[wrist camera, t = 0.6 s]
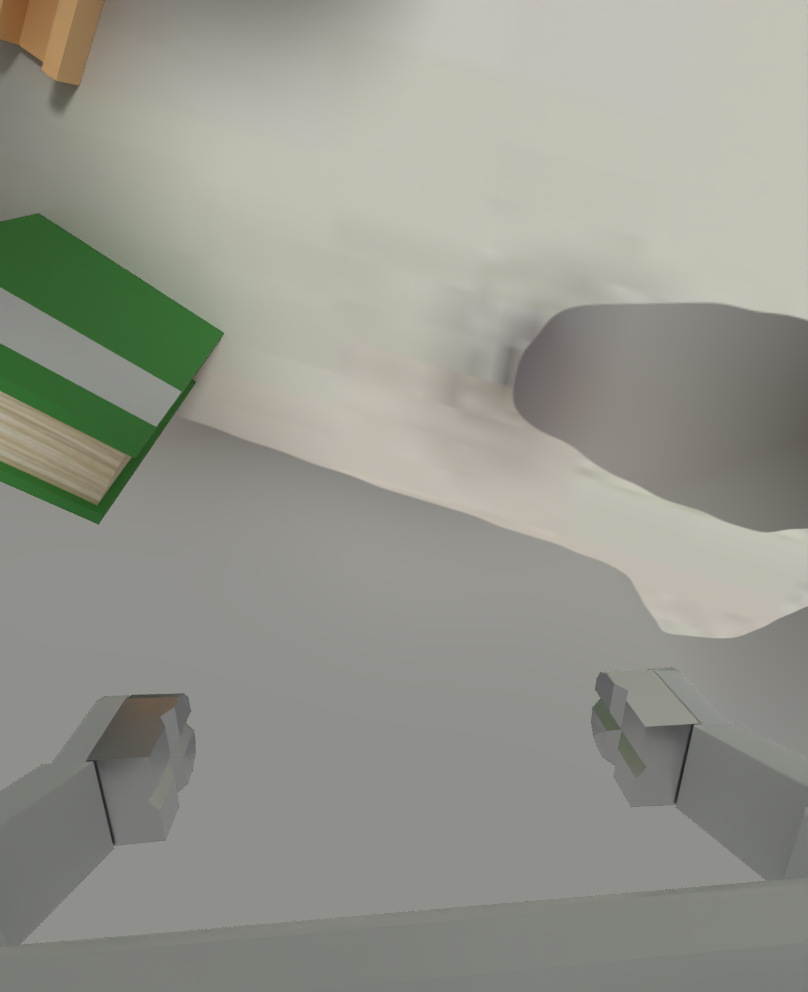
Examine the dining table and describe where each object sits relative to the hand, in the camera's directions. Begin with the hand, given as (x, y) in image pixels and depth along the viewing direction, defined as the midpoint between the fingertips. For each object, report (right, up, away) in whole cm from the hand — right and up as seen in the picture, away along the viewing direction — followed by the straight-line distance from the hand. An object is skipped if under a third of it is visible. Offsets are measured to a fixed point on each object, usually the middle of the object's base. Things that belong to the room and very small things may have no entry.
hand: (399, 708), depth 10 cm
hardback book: (-28, +23, +40) cm, 54 cm away
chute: (-25, +41, +28) cm, 55 cm away
